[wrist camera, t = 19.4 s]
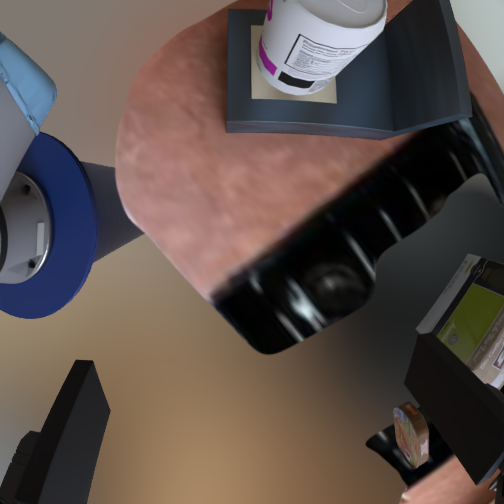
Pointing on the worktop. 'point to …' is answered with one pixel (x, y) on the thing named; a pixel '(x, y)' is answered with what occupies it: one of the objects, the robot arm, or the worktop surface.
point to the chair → (357, 81)
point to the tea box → (473, 318)
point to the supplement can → (315, 40)
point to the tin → (411, 434)
